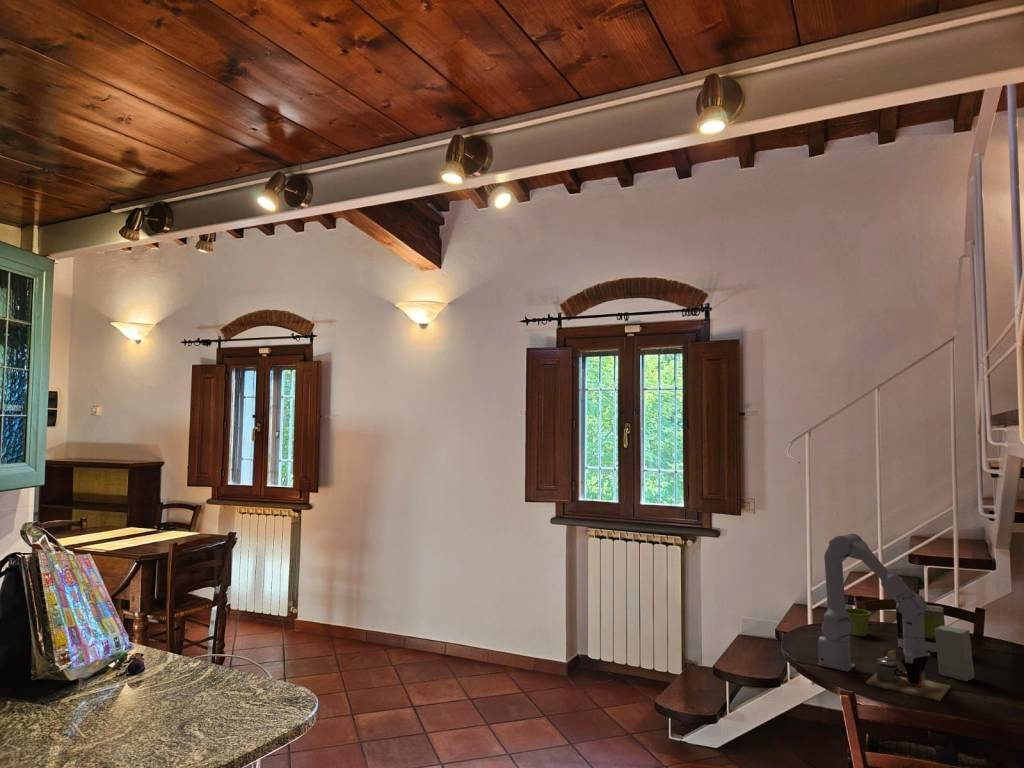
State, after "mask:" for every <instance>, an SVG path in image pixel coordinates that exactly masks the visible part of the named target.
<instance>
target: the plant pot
mask: <svg viewBox="0 0 1024 768" xmlns="http://www.w3.org/2000/svg"><path fill="white" fill-rule="evenodd" d="M845 609H846V611H847V612H848V613H849V614H850V620H851V622H852V624H853V632H852V633H851V634H850V635H853V636H857V637H866V636H867V635H868V628H869V619H870V616H871V615H872V613H871V611H869V610H865V609H862V608H861V609H860V608H845Z"/></svg>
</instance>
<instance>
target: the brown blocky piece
mask: <svg viewBox="0 0 1024 768" xmlns="http://www.w3.org/2000/svg"><path fill="white" fill-rule="evenodd" d="M896 676H901V677H905V678H907V684H910V682H909V679H908V675H907V672H906V670H903V669H901V670H897V669H896ZM925 680H926V670H925V669H924V670H923V669H921V670H920V676H919V683H918V685H916V686H920V687H923V686H924V684H925ZM911 685H915V684H911Z"/></svg>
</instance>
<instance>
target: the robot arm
mask: <svg viewBox="0 0 1024 768" xmlns="http://www.w3.org/2000/svg"><path fill="white" fill-rule="evenodd" d="M823 558H824V573H825V584H826V585H825V587H826V601H827V610H826V611H825V613H824V615H823V622H822V624H821V631H822V634H823V635H821V636H819V638H818V642H817V652H818V656H817V657H818V663H817V665H818V666H820V667H825V668H829V669H830V668H831V669H834V670H835V669H836V670H839V671H843V672H850V671H851V670H852V669H853V668H855V667H856V664H855V663H852V657H851V655H852V654H851V636H850V635H852V634H851V633H852V632H853V624H852V622H851V620H850V614H849V613H848V612H847V611H846V609H847V608H846V599H845V597H846V596H845V594H846V593H845V583H844V582H845V581H844V569H843V562H844V561H845V560H847V558H852V559H856V560H860V561H862V562H863V563H864V564H865V565H866V566H867V568H869V569H870V570H871V571H872V573H874V574H875V575H876V576H877V577H878V578H879V579H880V584H881V588H883V589H884V590H885V591H886V592H887V594H888V595H889V596H890V597H891V598H892V599H893V600H894V601H895V603H896V604H897V603H898V604H899V605H898V608H899V610H900V612H901V613H902V621H903V642H904V648H902V652H903V654H904V657H902V658H901V659H900V663H902V665H903V667H904V669H905V671H906V672H907V675H908V679H909V682H910V684H915V685H918V683H919V676H920V670H921V669H923V670H925V667H926V664H927V662H928V660H929V659H930V658H929V657H930V656H931V652H928V651H925V630H924V614H923V612H924V611H925V610H926V607H927V606H926V605H927V602H926V601H925V599H924V597H923V596H921V595H919V594H917V593H916V592H915V591H914V590H912V589H910V587H909V586H908V585H907V584H906V583H905V582H904V579H903V578H902V576H898V575H897V574H894V573H891V572H890V571H889V570H888V569H887V568H886V567H885V565H884V564H883V563H882V562H881V561H880V559H879V558H878V557H877V556H876V555H875V553H874V552H873V551H872V550H871V549H870V547H869V545H868V543H867V542H866V541H864V540H863V539H862V538H861V536H860V535H858V534H856V533H849V534H844V535H836V536H834V537H833V538H831V540H829V541H828V547H827V549H826V551H825V553H824V557H823ZM921 613H922V614H921ZM919 614H920V615H919Z"/></svg>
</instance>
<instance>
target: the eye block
mask: <svg viewBox="0 0 1024 768" xmlns="http://www.w3.org/2000/svg"><path fill="white" fill-rule="evenodd" d="M875 669H876V670H875V671H876V672H875V673H877V680H879V681H884V682H888V683H892V684H895V683H896V682H897V681H898V680H900V679H901V676H896V669H897V670H902V669H901V662H899V666H885V665H882V664H879V663H878V662H877V664H875Z"/></svg>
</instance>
